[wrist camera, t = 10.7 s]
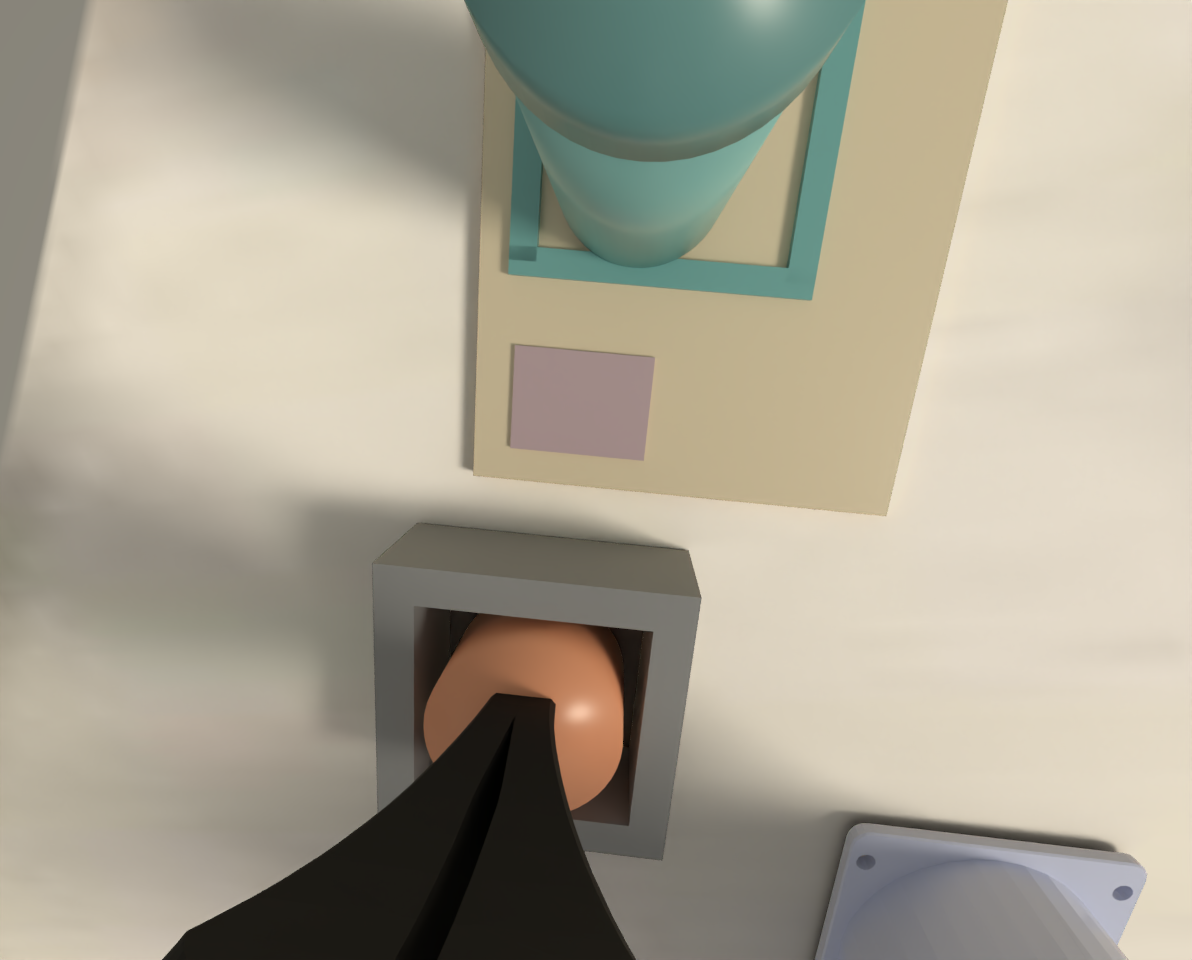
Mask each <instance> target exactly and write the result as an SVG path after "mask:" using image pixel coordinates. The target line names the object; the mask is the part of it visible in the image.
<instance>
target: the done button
mask: <svg viewBox="0 0 1192 960" xmlns="http://www.w3.org/2000/svg"><path fill="white" fill-rule="evenodd" d="M495 693H502V694H511V695H520V696H529V697H539V698H548V699H552V700H553V702H554V703H555V704H556V708H555V721H554V731H555V742H556V749H557V755H558V761H559V766H560V771H561V777H562V781H563V785H564V789H565V793H566V797H567V801H568V804H569V808H570V811H571V810H574V809H576V808H578V807H580V806H582V805H584V804H586V803H587V802H589V801H590V800H591V799H593V798H594V797H595V796H597V795H598V794H599V793H600V792H601V791H602V790H603V789H604V788H605V787H606V785H607V784H608V783H609V781H610V780H611V779H612V777H613V775H614V773H615V771H616V770H617V767H618V764H619V762H620V759H621V754H622V749H623V708H624V663H623V657H622V653H621V650H620V647H619V645H618V642H617V640H616V638H615V637H614V635H613V633H612V632H611V630H610V629H609V628H608V627H605V626H596V625H587V624H577V623H568V622H559V621H549V620H540V619H531V618H522V617H512V616H503V615H494V614H484V613H479V614H478V615H477V616H476V617H475V618H474V620H473V621H472V622H471V623H470V624H469V626H468V628H467V629H466V631H465V633H464V634H463V636H462V638H461V640H460V642H459V643H458V645H457V647H456V649H455V651H454V653H453V654H452V656H451V658H450V660H449V662H448V663H447V665H446V667H445V669H444V671H443V672H442V674H441V676H440V678H439V680H438V682H437V683H436V685H435V687H434V689H433V691H432V692H431V695H430V697H429V699H428V702H427V705H426V709H425V713H424V723H423V727H424V738H425V742H426V747H427V750H428V752H429V755H430V758H431V760H432V761H433V763H434V762H435V761H436V760H437V759H438V758H439V756H440V755H441V754H442V753H443V752H444V751H445V750H446V749H447V748H448V747H449V746H450V745H451V744H452V743H453V741H454V740H455V739H456V738H457V737H458V736H459V735H460V734H461V733H462V732H463V730H464V729H465V728H466V727H467V726H468V725H469V723H470V722H471V721H472V720H473V719H474V718H475V716H476V715H477V714H478V713H479V711H480V710H481V709H482V708H483V706H484V705H485V704H486V703H487V701H488V700H489V699H490V697H491V696H493V695H494V694H495Z"/></svg>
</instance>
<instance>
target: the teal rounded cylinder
mask: <svg viewBox="0 0 1192 960" xmlns="http://www.w3.org/2000/svg"><path fill="white" fill-rule="evenodd" d="M464 1H465V3H466V5H467V8H468V10H469V12H470V15H471V17H472V19H473V21H474V24H475V26H476V28H477V31H478V33H479V35H480V37H481V40H482V42H483V44H484V46H485V48H486V50H487V52H488V54H489V56H490V57H491V59H492V61H493V63H494V65H495V67H496V69H497V70H498V72H499V73H500V74H501V76H502V77H503V79H504V80H505V82H506V83H507V85H508V86H509V88H510V89H511V90H512V91H513V93H514V94H515V96H516V98H517V101H518V103H519V106H520V108H521V111H522V113H523V116H524V118H525V121H526V123H527V126H528V128H529V131H530V133H531V136H532V138H533V141H534V143H535V145H536V148H537V150H538V153H539V155H540V158H541V160H542V163H543V165H544V168H545V170H546V173H547V175H548V178H549V180H550V183H551V185H552V187H553V190H554V192H555V195H556V197H557V200H558V202H559V205H560V207H561V210H562V212H563V215H564V217H565V219H566V221H567V223H568V225H569V227H570V228H571V230H572V231H573V233H574V234H575V236H576V237H577V238H578V239H579V240H580V241H581V242H582V244H583V245H584V246H585V247H587V248H588V249H589V250H590V251H591V252H593V253H594V254H596V255H597V256H599V257H600V258H602V259H604V260H606V261H609V262H611V263H614V264H617V265H620V266H625V267H631V268H648V267H655V266H659V265H663V264H666V263H669V262H671V261H674V260H676V259H678V258H680V257H681V256H683V255H685V254H686V253H688V252H689V251H690V250H692V249H693V248H694V247H696V246H697V245H698V244H699V243H700V242H701V241H702V240H703V239H704V237H705V236H706V235H707V234H708V232H709V231H710V230H711V228H712V227H713V225H714V223H715V222H716V220H717V219H718V217H719V215H720V214H721V212H722V210H723V209H724V207H725V205H726V204H727V202H728V201H729V199H730V197H731V196H732V194H733V192H734V191H735V189H736V187H737V186H738V184H739V182H740V181H741V179H742V178H743V176H744V174H745V173H746V171H747V169H748V168H749V166H750V164H751V163H752V161H753V160H754V158H755V156H756V155H757V153H758V151H759V150H760V148H761V146H762V145H763V143H764V141H765V140H766V138H767V137H768V135H769V133H770V132H771V130H772V128H773V127H774V125H775V123H776V122H777V120H778V118H779V117H780V115H781V114H782V112H783V111H784V110H785V109H786V108H787V107H788V106H789V105H790V104H791V103H792V102H793V101H794V100H795V99H796V98H797V97H798V96H799V95H800V94H801V93H802V92H803V91H804V89H805V88H806V87H807V86H808V84H809V83H810V82H811V80H812V79H813V78H814V77H815V75H816V74H817V73H818V72H819V70H820V69H821V68H822V66H823V65H824V63H825V62H826V60H827V59H828V57H829V56H830V54H831V52H832V51H833V49H834V48H835V46H836V45H837V43H838V42H839V40H840V39H841V37H842V36H843V34H844V32H845V31H846V29H847V28H848V26H849V25H850V23H851V22H852V20H853V19H854V17H855V16H856V14H857V12H858V11H859V9H860V8H861V6H862V5H863V3H864V2H865V0H464Z"/></svg>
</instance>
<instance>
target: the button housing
mask: <svg viewBox="0 0 1192 960" xmlns="http://www.w3.org/2000/svg"><path fill="white" fill-rule="evenodd" d="M372 574H373V620H374V666H375V711H376V757H377V803H378V812H380V811H381V810H382V809H383V808H385V807H386V806H387V805H388V804H389V803H391V802H392V801H393V800H394V799H395V798H396V797H397V796H399V795H400V794H401V793H402V792H403V791H404V790H405V789H406V788H408V787H409V786H410V785H411V784H412V783H413V782H414V781H415V780H416V779H417V778H418V777H419V776H420V775H421V774H422V773H423V772H424V771H425V770H426V769H427V768H428V767H429V766H430V765H431V764H433V761H432V760H431V758H430V755H429V752H428V750H427V747H426V742H425V738H424V727H423V723H424V713H425V709H426V705H427V702H428V699H429V697H430V695H431V692H432V691H433V689H434V687H435V685H436V683H437V682H438V680H439V678H440V676H441V674H442V672H443V671H444V669H445V667H446V665H447V663H448V662H449V656H450V610H456V611H466V612H475V613H484V614H494V615H503V616H512V617H522V618H531V619H540V620H549V621H559V622H568V623H577V624H587V625H596V626H605V627H615V628H624V629H633V630H643V635H642V643H641V652H640V660H639V668H638V676H637V685H636V693H635V701H634V710H633V718H632V726H631V734H630V743H629V747H624V746H623V749H622V754H621V759H620V762H619V764H618V767H617V770H616V771H615V773H614V775H613V777H612V779H611V780H610V781H609V783H608V784H607V785H606V787H605V788H604V789H603V790H602V791H601V792H600V793H599V794H598V795H597V796H595V797H594V798H593V799H591V800H590V801H589V802H587V803H586V804H584V805H582V806H580V807H578V808H576V809H574V810H571V811H570V812H571V815H572V818H573V821H574V825H575V828H576V831H577V833H578V836H579V839H580V842H581V845H582V848H583V850H584V851H589V852H597V853H605V854H614V855H622V856H630V857H638V858H646V859H655V860H662V859H663V852H664V845H665V839H666V832H667V825H668V819H669V812H670V805H671V799H672V792H673V785H674V778H675V772H676V765H677V758H678V752H679V745H680V738H681V732H682V725H683V718H684V711H685V705H686V698H687V691H688V685H689V678H690V671H691V665H692V658H693V651H694V645H695V638H696V631H697V624H698V618H699V611H700V604H701V594H700V591H699V587H698V583H697V580H696V576H695V572H694V569H693V565H692V561H691V558H690V554H689V551H688V550H678V549H668V548H658V547H649V546H639V545H629V544H619V543H609V542H600V541H590V540H580V539H570V538H560V537H551V536H541V535H531V534H521V533H511V532H502V531H492V530H482V529H472V528H462V527H453V526H443V525H433V524H423V523H417V524H416V525H415V526H414V527H412V528H411V529H410V530H409V531H408V532H407V533H406V534H405V535H403V536H402V537H401V538H400V539H399V540H398V541H397V542H396V543H395V544H393V545H392V546H391V547H390V548H389V549H388V550H387V551H386V552H384V553H383V554H382V555H381V556H380V557H379V558H378V559H377V560H375V561H374V562H373V563H372Z"/></svg>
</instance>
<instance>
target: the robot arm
mask: <svg viewBox="0 0 1192 960" xmlns="http://www.w3.org/2000/svg"><path fill="white" fill-rule="evenodd" d="M555 708H556V704H555V703H554V702H553V700H552V699H548V698H539V697H529V696H520V695H511V694H502V693H495V694H494V695H493V696H491V697H490V699H489V700H488V701H487V703H486V704H485V705H484V706H483V708H482V709H481V710H480V711H479V713H478V714H477V715H476V716H475V718H474V719H473V720H472V721H471V722H470V723H469V725H468V726H467V727H466V728H465V729H464V730H463V732H462V733H461V734H460V735H459V736H458V737H457V738H456V739H455V740H454V741H453V743H452V744H451V745H450V746H449V747H448V748H447V749H446V750H445V751H444V752H443V753H442V754H441V755H440V756H439V758H438V759H437V760H436V761H435V762H434V763H433V764H431V765H430V766H429V767H428V768H427V769H426V770H425V771H424V772H423V773H422V774H421V775H420V776H419V777H418V778H417V779H416V780H415V781H414V782H413V783H412V784H411V785H410V786H409V787H408V788H406V789H405V790H404V791H403V792H402V793H401V794H400V795H399V796H397V797H396V798H395V799H394V800H393V801H392V802H391V803H389V804H388V805H387V806H386V807H385V808H383V809H382V810H381V811H380V812H378V813H377V814H376V815H375V816H374V817H372V818H371V819H370V820H369V821H367V822H366V823H365V824H363V825H362V826H361V827H359V828H358V829H357V830H355V831H354V832H353V833H351V834H350V835H349V836H347V837H346V838H345V839H343V840H342V841H341V842H339V843H338V844H336V845H335V846H334V847H332V848H331V849H329V850H328V851H326V852H325V853H324V854H322V855H321V856H319V857H318V858H316V859H314V860H313V861H311V862H310V863H308V864H307V865H305V866H303V867H302V868H300V869H299V870H297V871H296V872H294V873H292V874H291V875H289V876H288V877H286V878H284V879H283V880H281V881H279V882H278V883H276V884H274V885H273V886H271V887H269V888H268V889H266V890H264V891H262V892H261V893H259V894H257V895H255V896H254V897H252V898H250V899H248V900H246V901H244V902H242V903H240V904H238V905H236V906H235V907H233V908H231V909H229V910H227V911H225V912H223V913H221V914H219V915H218V916H216V917H214V918H212V919H210V920H208V921H206V922H204V923H202V924H200V925H198V926H196V927H194V928H192V929H190V930H188V931H187V932H186V933H185V934H184V935H183V936H182V938H181V939H180V940H179V941H178V943H177V944H176V945H175V946H174V947H173V948H172V949H171V950H170V952H169V953H168V954H167V955H166V956H165V957H164V958H163V959H162V960H636V959H635V957H634V955H633V954H632V952H631V950H630V948H629V947H628V945H627V943H626V941H625V939H624V937H623V935H622V934H621V932H620V930H619V928H618V926H617V924H616V922H615V920H614V918H613V916H612V914H611V912H610V910H609V908H608V906H607V904H606V901H605V899H604V897H603V895H602V893H601V891H600V888H599V886H598V884H597V882H596V880H595V877H594V875H593V873H592V871H591V868H590V866H589V863H588V861H587V858H586V855H585V853H584V850H583V848H582V845H581V842H580V839H579V836H578V833H577V831H576V828H575V825H574V821H573V818H572V815H571V812H570V808H569V804H568V801H567V797H566V793H565V789H564V785H563V781H562V777H561V771H560V766H559V761H558V755H557V749H556V742H555V731H554V721H555ZM862 855H865V856H863V857H861V856H862ZM1146 877H1147V873H1146V870H1145V869H1144V868H1143V866H1142V865H1141V864H1140V863H1139V862H1138V861H1137V860H1136V859H1135V858H1133V857H1132V856H1131V855H1128V854H1125V853H1118V852H1109V851H1101V850H1092V849H1084V848H1075V847H1067V846H1058V845H1050V844H1041V843H1033V842H1024V841H1016V840H1007V839H999V838H990V837H982V836H973V835H965V834H956V833H948V832H939V831H931V830H922V829H914V828H905V827H897V826H888V825H880V824H871V823H860V824H857V825H855V826H853V827H852V828H851V829H850V830H849V832H848V834H847V836H846V840H845V844H844V848H843V852H842V855H841V859H840V863H839V867H838V871H837V875H836V879H835V883H834V887H833V890H832V894H831V898H830V902H829V906H828V910H827V914H826V918H825V922H824V926H823V929H822V933H821V937H820V941H819V945H818V949H817V953H816V957H815V960H1128V959H1127V957H1126V956H1125V955H1124V954H1123V952H1122V951H1121V950H1120V949H1119V947H1118V946H1117V945H1118V942H1119V940H1120V938H1121V936H1122V933H1123V931H1124V929H1125V927H1126V924H1127V922H1128V920H1129V918H1130V915H1131V913H1132V911H1133V909H1134V906H1135V904H1136V902H1137V900H1138V898H1139V895H1140V893H1141V891H1142V889H1143V886H1144V884H1145V882H1146Z"/></svg>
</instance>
